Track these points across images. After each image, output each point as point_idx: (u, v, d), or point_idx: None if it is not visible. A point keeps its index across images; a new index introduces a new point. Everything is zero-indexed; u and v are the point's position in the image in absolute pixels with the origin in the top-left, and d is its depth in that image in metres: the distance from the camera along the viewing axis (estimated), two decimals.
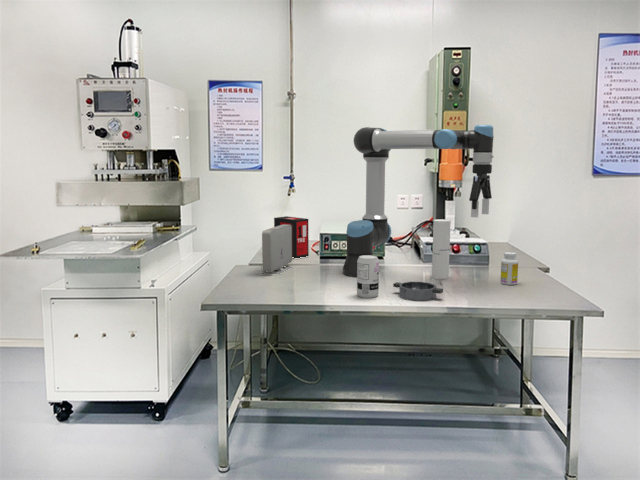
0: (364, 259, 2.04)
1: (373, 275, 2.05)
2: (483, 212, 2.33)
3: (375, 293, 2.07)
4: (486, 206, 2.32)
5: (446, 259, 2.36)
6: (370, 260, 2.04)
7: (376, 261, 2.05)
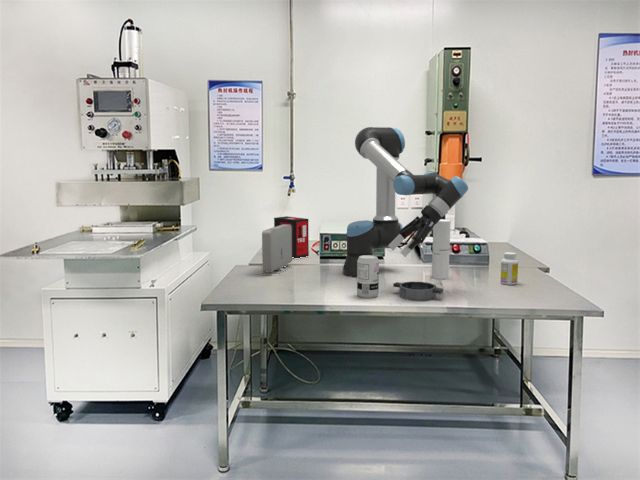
0: (364, 259, 2.04)
1: (373, 275, 2.05)
2: (391, 246, 2.15)
3: (375, 293, 2.07)
4: (397, 243, 2.16)
5: (446, 259, 2.36)
6: (370, 260, 2.04)
7: (376, 261, 2.05)
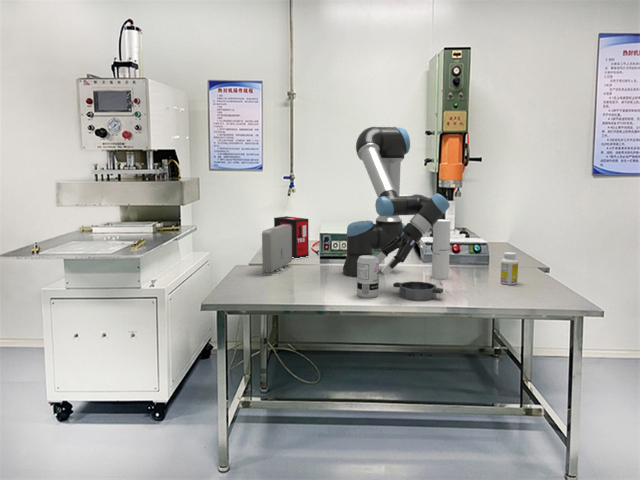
0: (364, 259, 2.04)
1: (373, 275, 2.05)
2: None
3: (375, 293, 2.07)
4: (379, 261, 2.14)
5: (446, 259, 2.36)
6: (370, 260, 2.04)
7: (376, 261, 2.05)
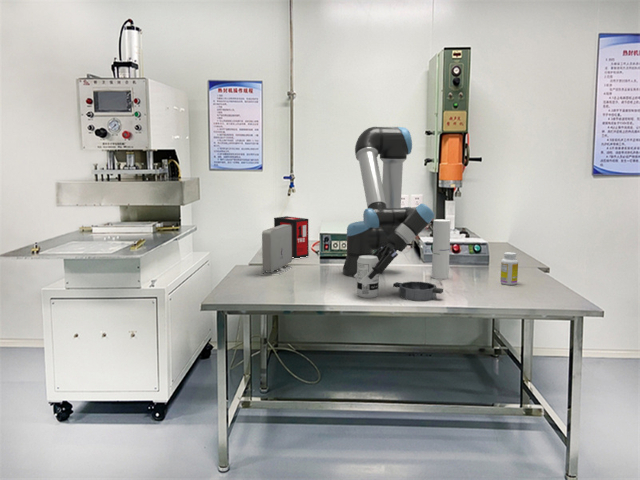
0: (364, 259, 2.04)
1: None
2: (356, 276, 2.12)
3: (375, 293, 2.07)
4: None
5: (446, 259, 2.36)
6: (370, 260, 2.04)
7: (376, 261, 2.05)
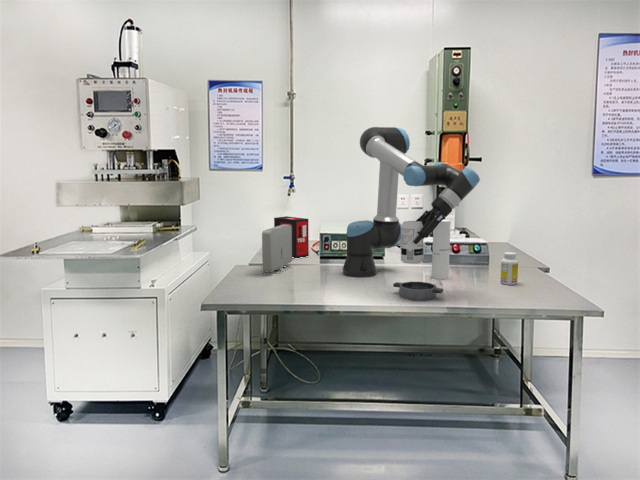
0: (409, 224, 2.01)
1: None
2: (400, 243, 2.09)
3: (420, 258, 2.04)
4: None
5: (446, 259, 2.36)
6: (415, 225, 2.01)
7: (421, 226, 2.02)
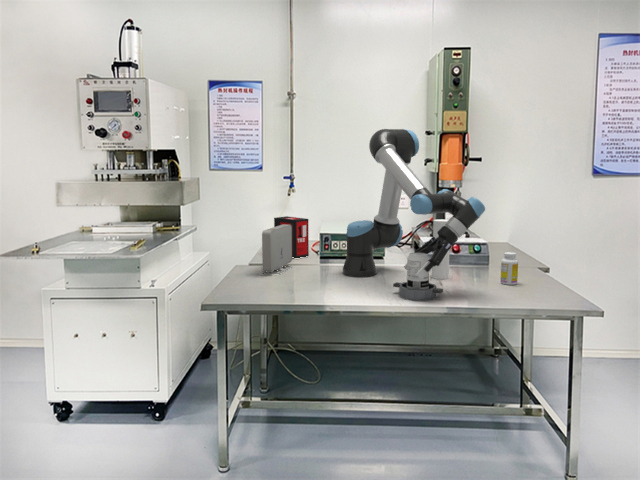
0: (415, 256, 2.04)
1: None
2: (406, 267, 2.13)
3: None
4: None
5: (446, 259, 2.36)
6: (421, 257, 2.04)
7: (427, 258, 2.05)
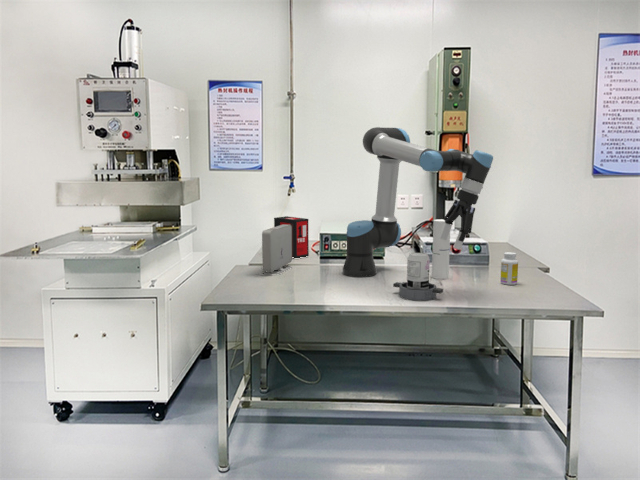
0: (415, 256, 2.04)
1: (424, 273, 2.04)
2: (442, 237, 2.18)
3: None
4: (447, 232, 2.18)
5: (446, 259, 2.36)
6: (421, 257, 2.03)
7: (427, 258, 2.05)
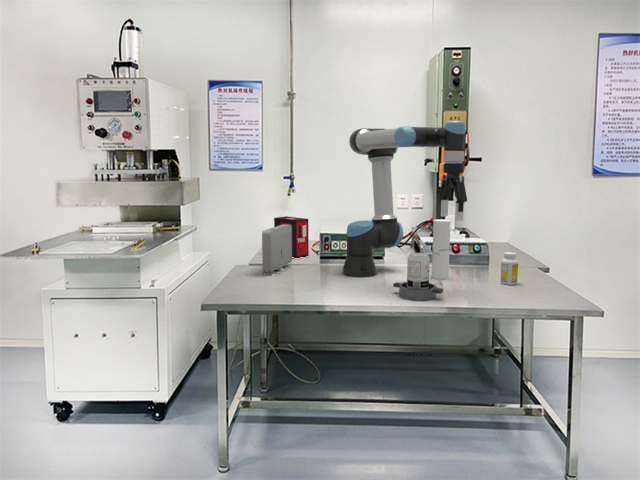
0: (415, 256, 2.04)
1: (424, 273, 2.04)
2: (443, 214, 2.18)
3: None
4: (446, 208, 2.18)
5: (446, 259, 2.36)
6: (421, 257, 2.04)
7: (427, 258, 2.05)
